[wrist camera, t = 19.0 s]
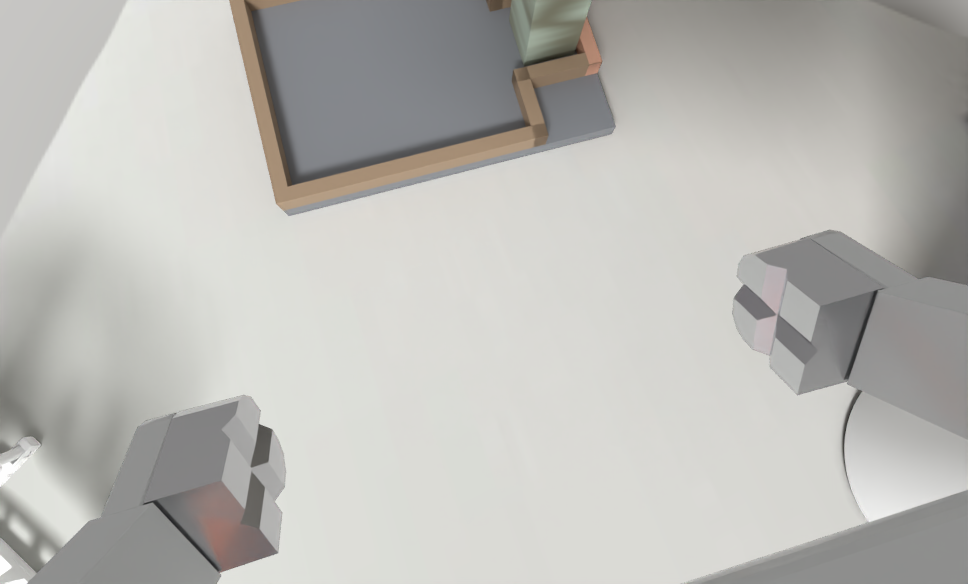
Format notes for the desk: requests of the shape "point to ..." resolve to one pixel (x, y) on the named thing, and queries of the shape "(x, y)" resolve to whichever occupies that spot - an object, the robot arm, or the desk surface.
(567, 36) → the green peg
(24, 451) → the white perforated frame
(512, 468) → the desk surface
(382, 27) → the keyhole dock
